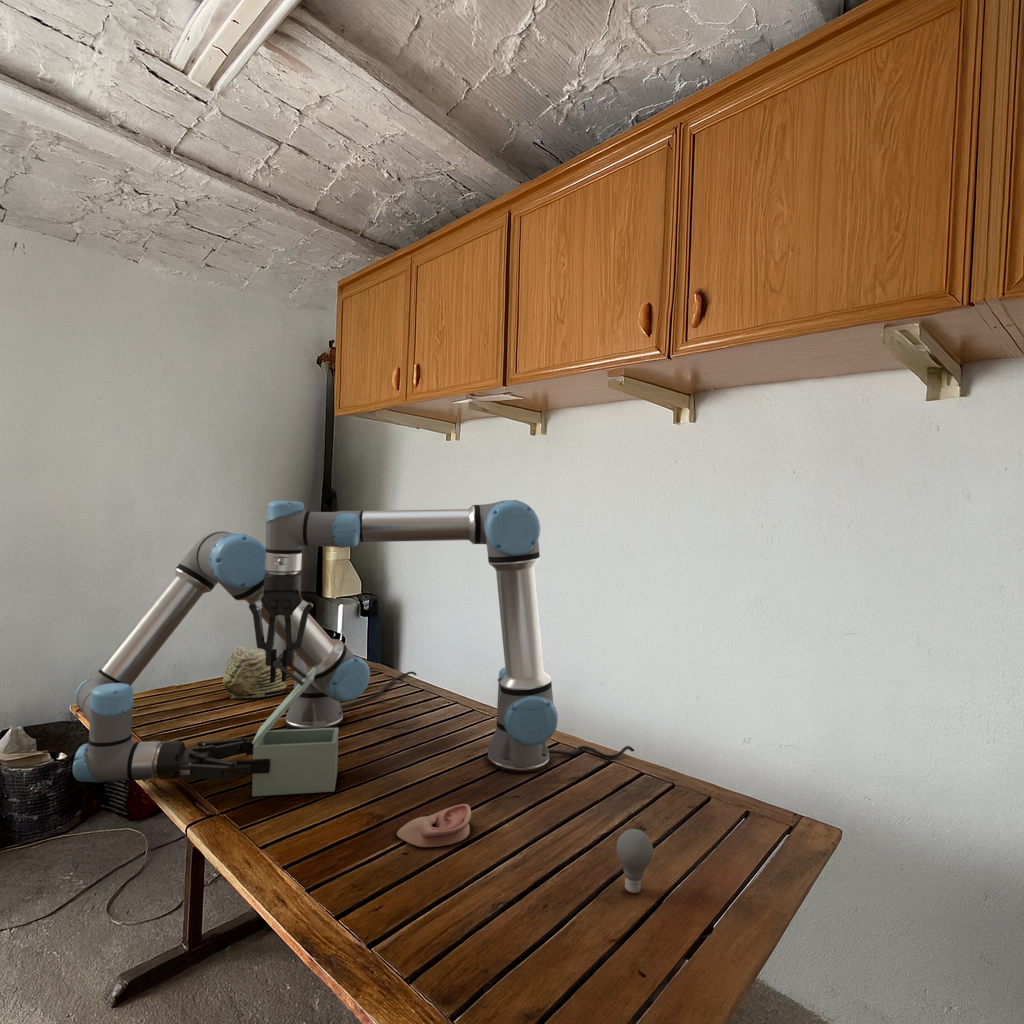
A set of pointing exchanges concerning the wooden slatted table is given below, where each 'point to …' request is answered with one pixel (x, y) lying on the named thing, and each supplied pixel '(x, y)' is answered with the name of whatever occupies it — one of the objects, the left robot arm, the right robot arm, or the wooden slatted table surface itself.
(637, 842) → the light bulb
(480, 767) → the wooden slatted table surface
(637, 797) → the wooden slatted table surface
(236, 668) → the fossil
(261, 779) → the chest
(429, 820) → the anatomical model
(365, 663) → the left robot arm
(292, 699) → the lid
